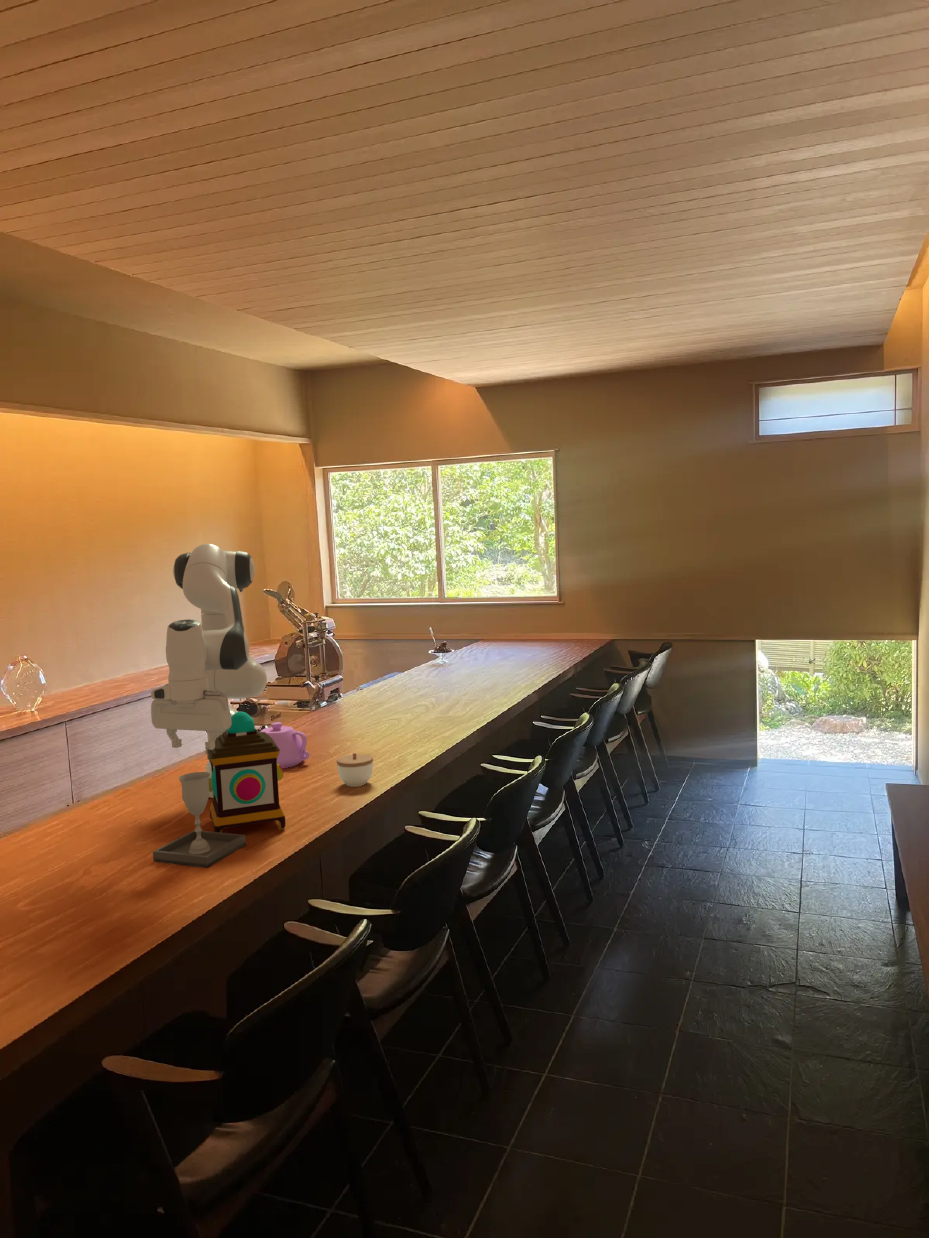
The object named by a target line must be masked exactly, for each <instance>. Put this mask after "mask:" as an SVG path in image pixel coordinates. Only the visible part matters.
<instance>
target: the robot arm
mask: <svg viewBox="0 0 929 1238" xmlns="http://www.w3.org/2000/svg"><path fill="white" fill-rule="evenodd" d="M172 573H173V578H174V580H175V584H176V585H177V586H178V587H179V588H180V589H181V590H182V592H183V595H184V597H185V598H186V599H187V601H188V602H189V603H190V604H191V605H193V606H194V607H196V608H198V609H200V613H201V614H200V618H201V622H200V621H198V620H196V619H181V620H176V621H173V622H171V623H170V624H169V625H168V626H167V628H166V629H167V630H166V642H165V654H166V656H165V658H166V663H167V664H168V668H169V673H168V676H167V679H168V683H166V684H164V685H163V686H161V687H158V688H154V689H152V690H151V691H150V696H151V699H153V700H152V701H151V705H150V717H151V724H152V726H153V727H154V728H155V729H157V730H158V729H159V730H161V729H162V730H165V731H166V735H167V736H168V739H169V740H170V741H171V747H172V748H173V749H174V748H176V749H177V748H178V749H179V748H181V747H182V746H183V743H182V738H179V736H178V735H177V732H178V731H180V730H181V731H194V732H195V731H197V732H199V731H200V732H201V731H202V732H206V734H207V735H206V736H207V741H206V742H204V746H205V747H204V748H205V750H206V755H207V756H206V759H207V760H208V762H207V763H206V766H205V772H208V773H210V776H209V778H211V776H212V768H211V759H210V757H209V754H208V751H207V750H212V749H214V748H215V740H216V738H217V737H219V736H220V735H222V734H223V732H226V730H228V729H229V728H230V727H231V725H232V721H231V717H232V715H233V714H235V713H236V712H239V711H238V710H237V709H234V708H233V706H231V704H230V703H229V700H230V699H231V700H232V699H233V700H235V699H240V700H241V699H244V700H245V699H249V698H253V697H254V698H255V697H259V696H261V694H263V692H264V690H265V689H266V686H267V684H268V683H267V682H268V676H267V672H266V670H265V668H264V667H263V666H262V664H260V663H259V662H257V661H256V660H255V658H253V657H252V655H251V654H250V645H249V639H248V638H247V636H246V635H247V634H246V633H245V632H246V631H245V626H244V620H243V614H242V608H241V602H240V595H239V593H242V592H243V591H244V589H246V588H249V586H250V585H251V584H252V583H253V581H254V578H255V574H256V566H255V563H254V560H253V557H252V556H251V555H250V553H249V552H246V551H242V550H236V551H234V550H233V551H232V550H223V549H222V548H221V547H219V546H217V545H215V544H212V543H203V544H199V545H198V546H196V547H195V548H194V549H193V550H192V552H185V553H182V554H179V556H177V557H176V558H175V561H174V564H173V568H172ZM209 798H212V799H213V791H212V792H209Z"/></svg>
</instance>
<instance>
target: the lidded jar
mask: <svg viewBox="0 0 929 1238" xmlns="http://www.w3.org/2000/svg"><path fill="white" fill-rule="evenodd" d="M373 762H374V757H373V756H372V755H369V754H361V753H356V752H352V754H348V755H343V756H340V757H338V758H337V759H336V765H337V773H338V776H339V779H340V780H341V781H342V782H343V784H345V786H346V785H347V786H346V787H349V786H350V787H349V788H356V787H358V786H359V787H363V786H365V785H367V783H368V781H370V779H371V777H372V774H373V768H374V763H373ZM364 784H365V785H364ZM362 785H363V786H362ZM359 787H358V788H359Z"/></svg>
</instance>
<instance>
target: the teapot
mask: <svg viewBox="0 0 929 1238" xmlns="http://www.w3.org/2000/svg"><path fill="white" fill-rule="evenodd" d="M259 731H260V732H265V733H266V734H268V735H269V736H270V737H271V738H272V739H273V741H274V742H275V743H276V745H277V746H278V748H279V749H280V753H279V755H278V758H277V764H280V765H281V767H282V769H283V770H284V769H287V768H288V767H289V768H292V767H295V766H298V765H299V763H300V764H301V763H302V761H305V760H308V759H309V758H310V756H311V755H310V752H309V751H308V750H306V747H307V742H308V741H307V740H308V737H307V735H306V734H305V733H304V732H302V731H299V730H297V731H296V730H295V729H294V727H292V726H287V725H285V726H284V725H283V722H280V721H277V722H272V723H270V727H266V728H263V729H261V730H259ZM289 768H288V769H289Z"/></svg>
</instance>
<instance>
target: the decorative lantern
mask: <svg viewBox="0 0 929 1238" xmlns="http://www.w3.org/2000/svg"><path fill="white" fill-rule="evenodd" d="M231 721H232V725H231V727H230V728H229V729H228V730H226V732H223V734H222V735H220V736H219V737H217V738H216V740H215V748H214V749H212V750H206V752H207V751H208V754H209V757H210V759H211V768H212V776H211V778H209V779H208V782H209V792H212V791H213V798H212V802H211V804H210V806H209V817H210V820H211V821H212V825H213V830H214V831H213V832H220V833H223V832H222V831H223V830H224V829H227V828H228V829H229V828H233V827H240V826H247V825H255V824H261V823H266V822H267V823H268V822H274V821H277V822H278V825H279V826H278V827H279V829H280V830H284V829H286V828H285V827H286V815H285V813H284V811H283V809H282V807H281V805H280V795H279V793H280V792H279V781H281V780H282V779H283V777H284V771H283V770H284V768H283V769H282V767H281V765H280V764H277V758H278V755H279V753H280V749H279V748H278V746H277V745H276V743H275V742H274V741H273V739H272V738H271V737H270V736H269V735H268V734H266V733H265V732H260V731H261V730H258V729H257V728H256V726H255V719H254V718H253V717H252V716H251V715H250V714H248V713H247V712H244V711H241V710H240V711H238V712H236V713H235V714H233V715H232V717H231Z"/></svg>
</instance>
